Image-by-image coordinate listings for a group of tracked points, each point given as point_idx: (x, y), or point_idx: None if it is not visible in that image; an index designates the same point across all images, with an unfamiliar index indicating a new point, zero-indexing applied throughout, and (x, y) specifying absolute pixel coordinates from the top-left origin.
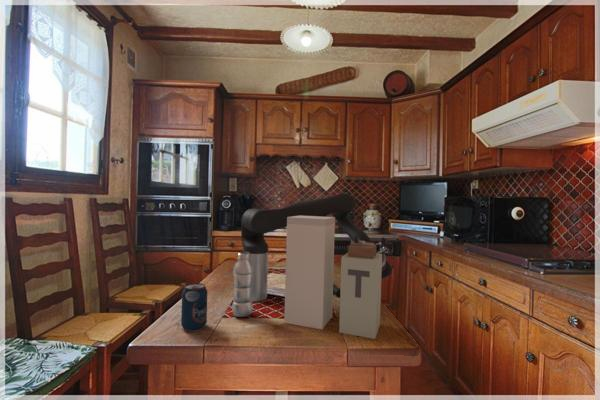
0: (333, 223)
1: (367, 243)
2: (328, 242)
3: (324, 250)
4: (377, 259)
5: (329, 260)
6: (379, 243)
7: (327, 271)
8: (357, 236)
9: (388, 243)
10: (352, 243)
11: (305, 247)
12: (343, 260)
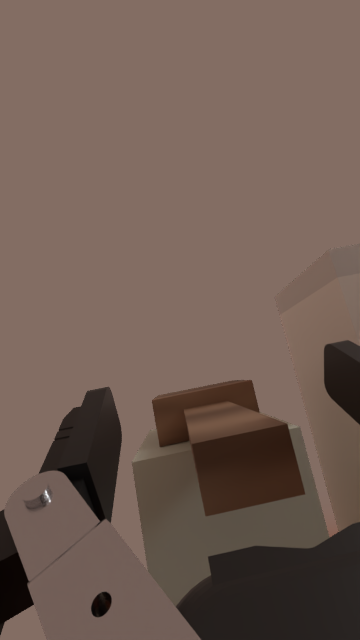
0: (323, 284)
1: (237, 420)
2: (311, 362)
3: (298, 383)
4: (150, 433)
5: (342, 435)
6: (139, 571)
7: (341, 470)
8: (325, 351)
9: (3, 511)
10: (247, 380)
11: None
12: None
